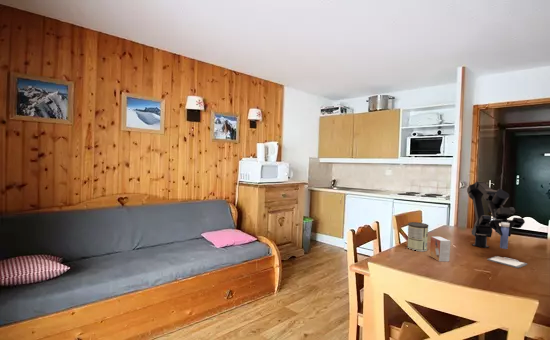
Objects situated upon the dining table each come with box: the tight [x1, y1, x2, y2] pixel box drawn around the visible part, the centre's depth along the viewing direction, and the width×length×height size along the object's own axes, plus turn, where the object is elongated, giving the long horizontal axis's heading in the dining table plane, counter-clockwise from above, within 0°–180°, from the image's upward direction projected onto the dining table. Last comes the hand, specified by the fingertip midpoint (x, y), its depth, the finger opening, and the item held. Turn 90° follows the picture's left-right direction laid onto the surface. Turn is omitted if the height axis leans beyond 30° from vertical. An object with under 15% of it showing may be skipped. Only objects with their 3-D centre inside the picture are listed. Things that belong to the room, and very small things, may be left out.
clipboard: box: [486, 255, 528, 269], centre depth 150 cm, size 11×13×1 cm
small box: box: [429, 236, 452, 262], centre depth 152 cm, size 8×6×10 cm
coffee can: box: [406, 221, 430, 252], centre depth 168 cm, size 10×10×14 cm
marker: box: [499, 222, 510, 250], centre depth 151 cm, size 3×3×13 cm
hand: (505, 235), depth 150 cm, fingers closed on marker, 3 cm apart
